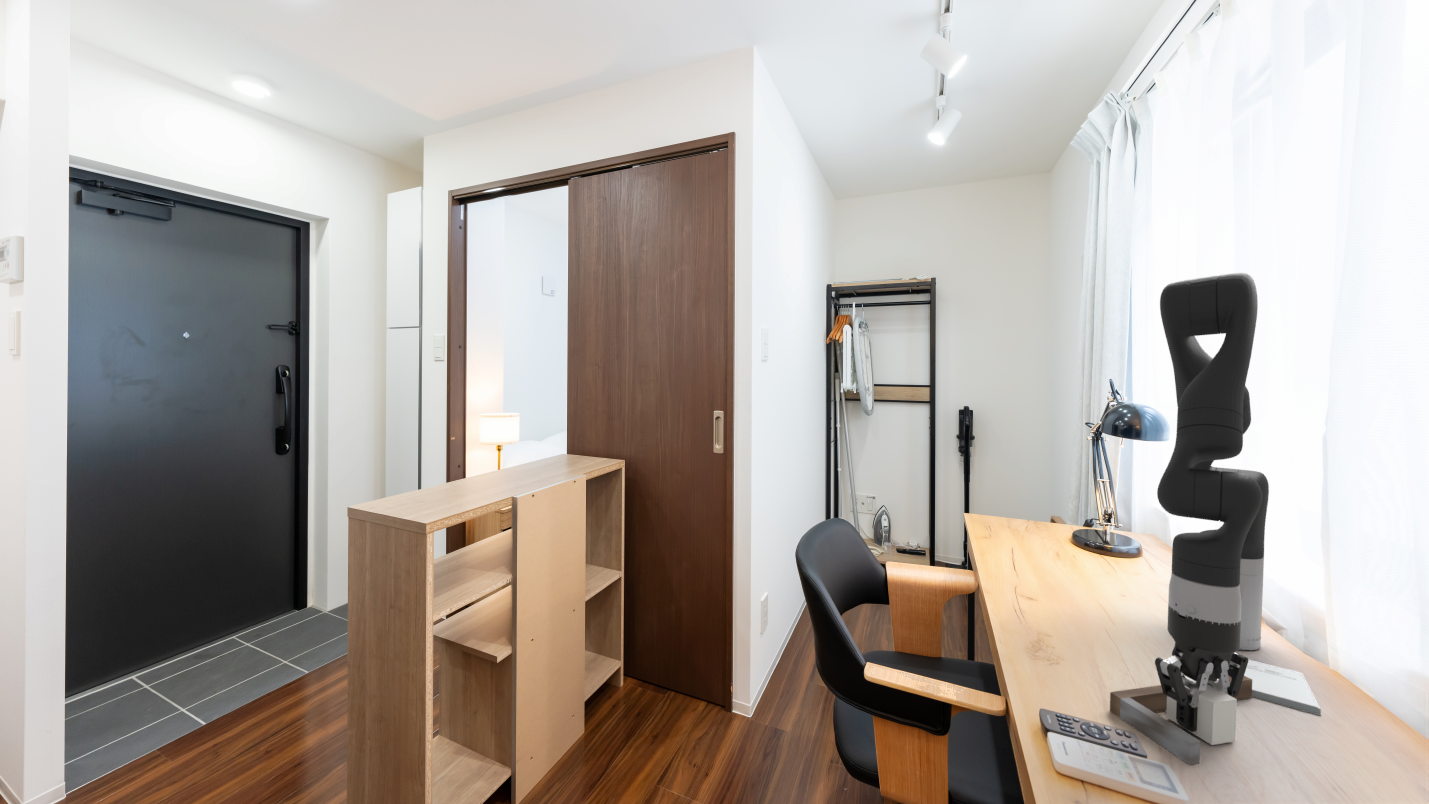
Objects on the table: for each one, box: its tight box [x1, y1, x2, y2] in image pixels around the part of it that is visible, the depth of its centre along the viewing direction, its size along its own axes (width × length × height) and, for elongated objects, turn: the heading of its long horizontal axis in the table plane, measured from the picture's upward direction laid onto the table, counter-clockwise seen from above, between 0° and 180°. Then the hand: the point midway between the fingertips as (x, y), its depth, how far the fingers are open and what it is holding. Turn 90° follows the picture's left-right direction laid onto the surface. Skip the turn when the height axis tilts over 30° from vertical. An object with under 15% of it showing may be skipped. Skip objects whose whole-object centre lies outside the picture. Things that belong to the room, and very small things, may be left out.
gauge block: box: [1165, 675, 1238, 746], centre depth 74 cm, size 6×4×6 cm, turn 11°
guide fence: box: [1109, 676, 1253, 765], centre depth 75 cm, size 11×25×3 cm, turn 101°
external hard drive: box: [1244, 658, 1322, 716], centre depth 85 cm, size 2×8×12 cm
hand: (1199, 725), depth 74 cm, fingers closed on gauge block, 4 cm apart
